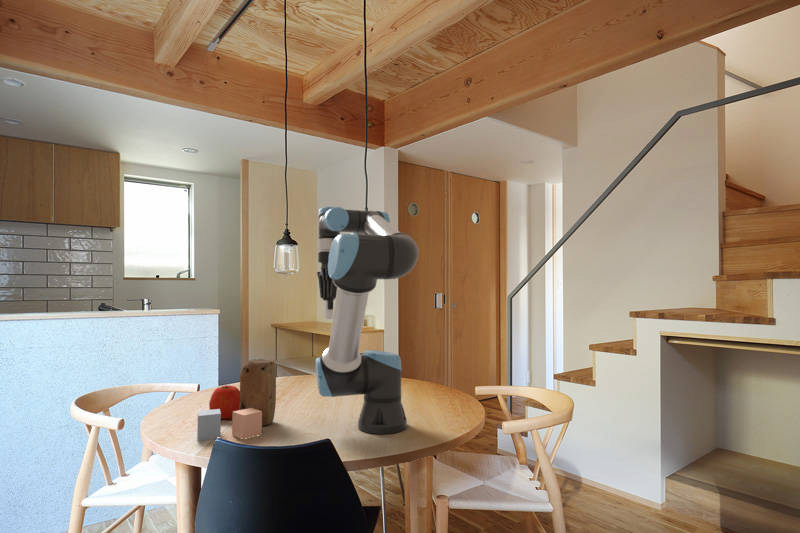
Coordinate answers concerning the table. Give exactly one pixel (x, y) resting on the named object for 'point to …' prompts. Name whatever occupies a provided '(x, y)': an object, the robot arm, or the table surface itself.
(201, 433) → the slate block
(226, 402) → the apple
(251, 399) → the brown long irregular lump
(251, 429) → the terracotta block
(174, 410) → the table surface
